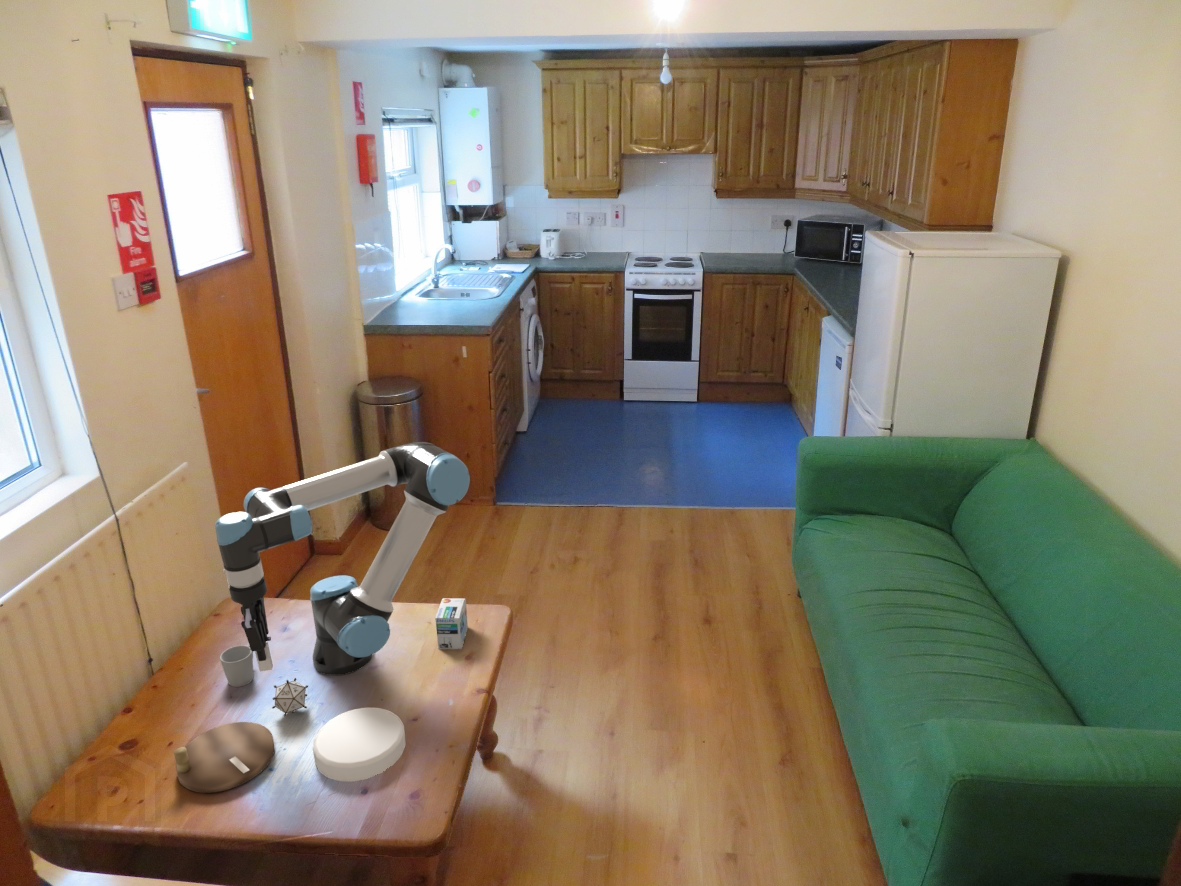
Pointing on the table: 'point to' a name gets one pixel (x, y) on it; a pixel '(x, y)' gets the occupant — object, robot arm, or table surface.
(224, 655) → the cup
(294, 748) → the table surface
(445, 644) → the light bulb box
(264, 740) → the turntable
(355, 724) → the container
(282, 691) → the game die
